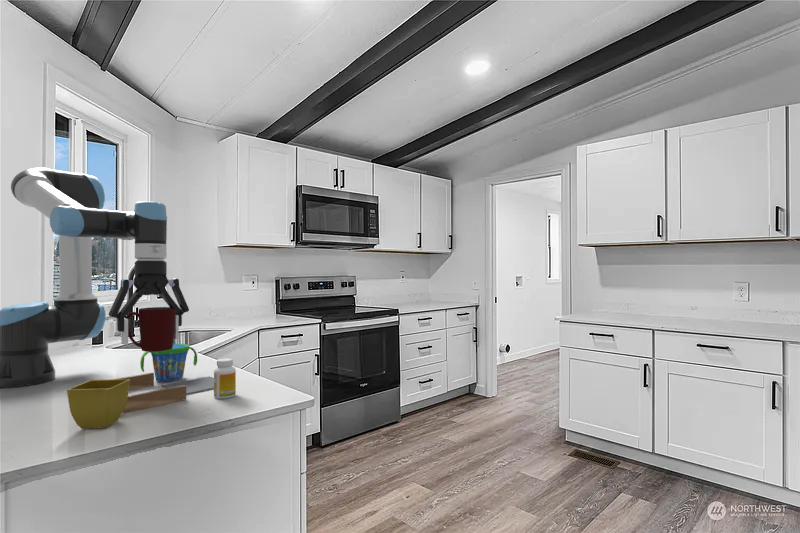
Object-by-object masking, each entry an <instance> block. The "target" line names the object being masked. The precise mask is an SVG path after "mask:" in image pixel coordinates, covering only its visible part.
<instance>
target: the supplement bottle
mask: <svg viewBox="0 0 800 533" xmlns="http://www.w3.org/2000/svg"><path fill="white" fill-rule="evenodd" d="M233 365H234V359H233V358H227V357H226V358H219V359H217V360H216V368H214V370H213V378H214V389H213V398H214V399H219V400H224V399H231V398H233V397H235V396H236V394H237V390H236V385H237V384H236V382H237V381H236V373H237V372H236V367H234V366H233Z"/></svg>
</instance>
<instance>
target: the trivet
mask: <svg viewBox="0 0 800 533" xmlns="http://www.w3.org/2000/svg"><path fill="white" fill-rule="evenodd" d="M182 385H186V396H187V395H192V394H197V393H202V392H206V391H207V392H208V391H211V390H214V376H210V375H209V376H205V377H198V378H194V379H188V380H182V381H177V382H171V383H166V384H161V387H162V388H163V389H166V388H171V387H177V386H182Z"/></svg>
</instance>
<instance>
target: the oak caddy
mask: <svg viewBox="0 0 800 533" xmlns="http://www.w3.org/2000/svg"><path fill="white" fill-rule="evenodd" d="M117 379H130V385H129V391H130V390H136V389H141V388H146V387H152V386H153V387H154V385H155V373H154V372H148V373H141V374H136V375H128V376H124V377H117V378H112V379H109V380H117ZM185 400H187V395H186V385H182V386H177V387H171V388H161V389H156V390H151V391H146V392H141V393H135V394H131V395H129V394H128V399H127V403H126V406H125V409H124V411H123V413H129V412H133V411H138V410H142V409H148V408H151V407H157V406H161V405H166V404H172V403H176V402H180V401H185ZM123 413H122V414H123Z"/></svg>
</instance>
